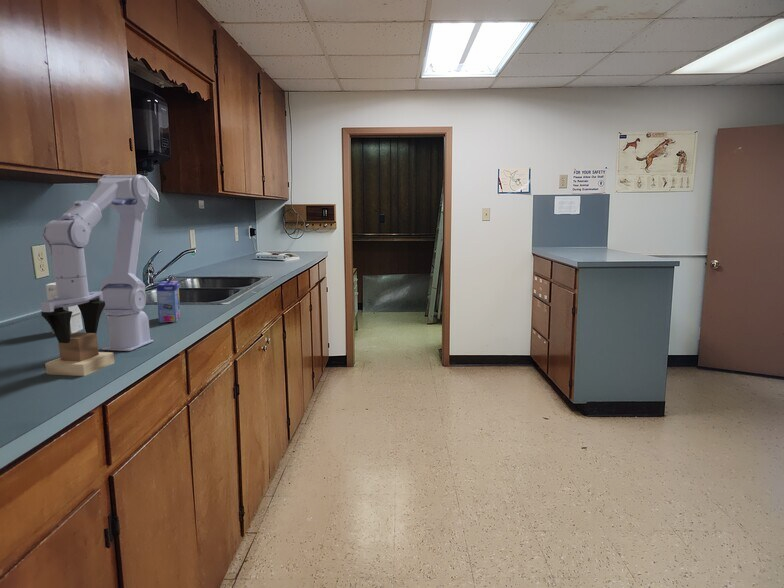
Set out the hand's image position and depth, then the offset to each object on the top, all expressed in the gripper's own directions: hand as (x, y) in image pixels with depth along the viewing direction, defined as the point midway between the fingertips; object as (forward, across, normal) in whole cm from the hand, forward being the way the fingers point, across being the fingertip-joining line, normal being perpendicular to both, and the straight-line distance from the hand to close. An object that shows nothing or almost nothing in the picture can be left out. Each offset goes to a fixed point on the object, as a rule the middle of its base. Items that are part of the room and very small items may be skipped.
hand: (78, 337), depth 105 cm
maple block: (+8, 0, 0) cm, 8 cm away
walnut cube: (+4, 0, 0) cm, 5 cm away
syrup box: (+7, -29, -30) cm, 42 cm away
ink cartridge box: (+7, -48, -10) cm, 49 cm away
